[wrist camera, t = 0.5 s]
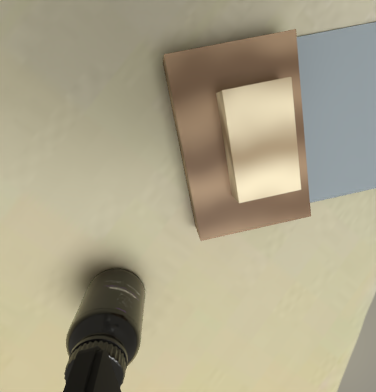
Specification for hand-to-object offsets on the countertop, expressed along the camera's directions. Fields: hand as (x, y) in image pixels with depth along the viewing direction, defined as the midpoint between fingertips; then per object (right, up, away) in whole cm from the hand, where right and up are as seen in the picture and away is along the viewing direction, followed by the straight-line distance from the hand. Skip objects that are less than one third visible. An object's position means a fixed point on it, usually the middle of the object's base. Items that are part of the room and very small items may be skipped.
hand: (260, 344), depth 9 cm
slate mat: (+15, +13, +23) cm, 30 cm away
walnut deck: (+3, +11, +22) cm, 25 cm away
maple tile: (+4, +10, +17) cm, 20 cm away
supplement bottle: (-11, -7, +26) cm, 29 cm away
